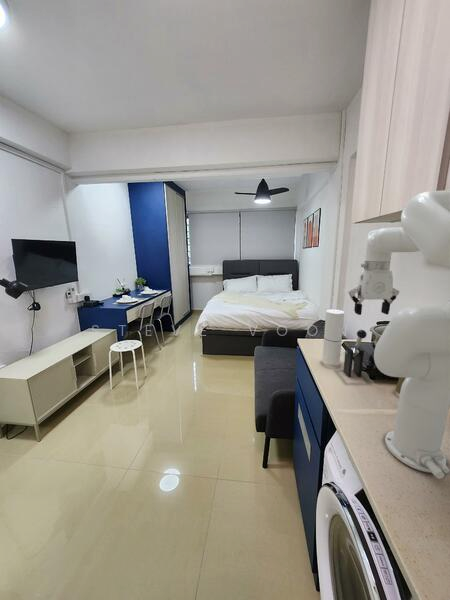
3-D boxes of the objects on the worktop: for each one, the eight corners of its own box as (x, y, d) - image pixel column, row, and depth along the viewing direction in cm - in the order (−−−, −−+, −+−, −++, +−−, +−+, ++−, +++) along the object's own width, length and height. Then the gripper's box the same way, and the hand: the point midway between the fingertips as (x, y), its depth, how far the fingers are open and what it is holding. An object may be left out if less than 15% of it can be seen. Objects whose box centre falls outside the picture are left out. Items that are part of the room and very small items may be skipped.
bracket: (369, 384, 93) (373, 353, 91) (346, 384, 94) (349, 354, 91) (356, 370, 103) (359, 343, 100) (335, 371, 104) (337, 343, 101)
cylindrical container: (323, 367, 106) (327, 313, 101) (320, 360, 113) (324, 308, 107) (340, 369, 105) (346, 314, 99) (337, 361, 112) (342, 309, 106)
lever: (369, 333, 88) (365, 328, 91) (360, 333, 88) (356, 328, 91) (359, 358, 95) (355, 351, 98) (350, 358, 96) (347, 352, 98)
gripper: (357, 268, 80) (352, 317, 84) (409, 267, 80) (402, 316, 84) (346, 266, 88) (342, 311, 92) (394, 265, 87) (388, 310, 91)
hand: (371, 313), depth 88 cm, fingers open, 9 cm apart
